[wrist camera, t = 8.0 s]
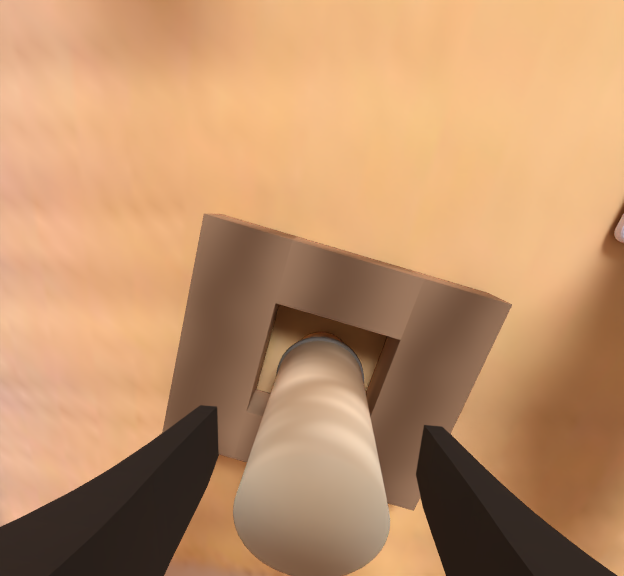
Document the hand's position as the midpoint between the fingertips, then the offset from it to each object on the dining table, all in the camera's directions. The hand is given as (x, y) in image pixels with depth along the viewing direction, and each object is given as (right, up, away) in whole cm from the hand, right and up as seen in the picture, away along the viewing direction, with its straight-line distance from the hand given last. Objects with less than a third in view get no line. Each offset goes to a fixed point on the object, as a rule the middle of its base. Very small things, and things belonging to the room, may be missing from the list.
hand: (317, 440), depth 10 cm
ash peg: (0, +1, +6) cm, 6 cm away
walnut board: (0, +1, +6) cm, 6 cm away
